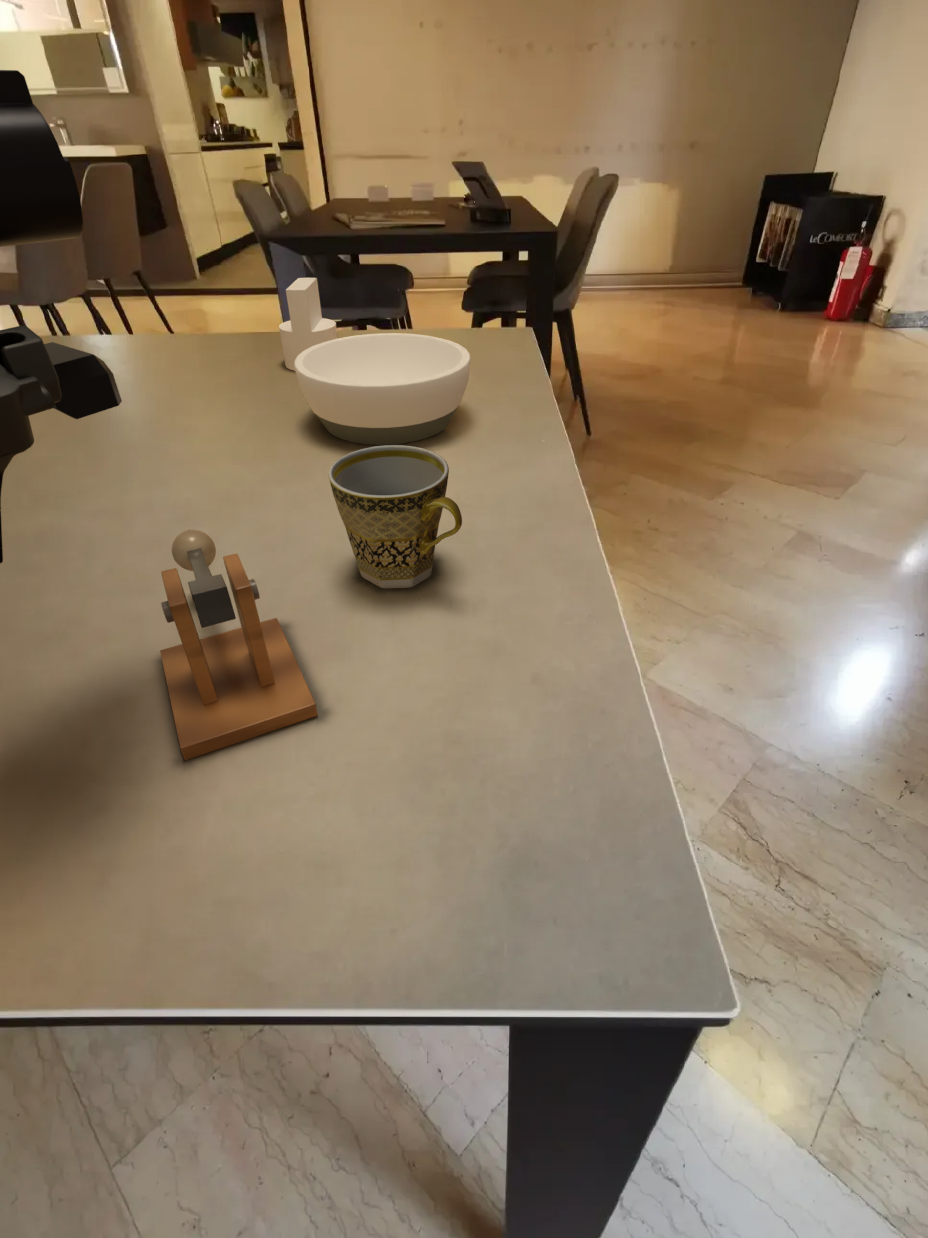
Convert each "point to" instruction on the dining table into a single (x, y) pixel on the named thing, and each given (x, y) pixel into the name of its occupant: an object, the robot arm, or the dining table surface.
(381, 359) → the bowl
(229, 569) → the bracket
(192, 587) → the lever
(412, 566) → the ceramic cup
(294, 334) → the cylinder with rectangular tab
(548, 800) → the dining table surface
